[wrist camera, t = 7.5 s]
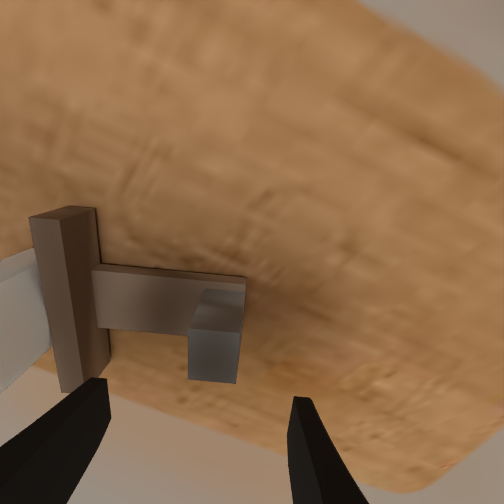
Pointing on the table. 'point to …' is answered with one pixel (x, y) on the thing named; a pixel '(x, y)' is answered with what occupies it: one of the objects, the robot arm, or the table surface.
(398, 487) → the table surface
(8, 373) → the eye dropper bottle
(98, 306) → the grey hook bracket
